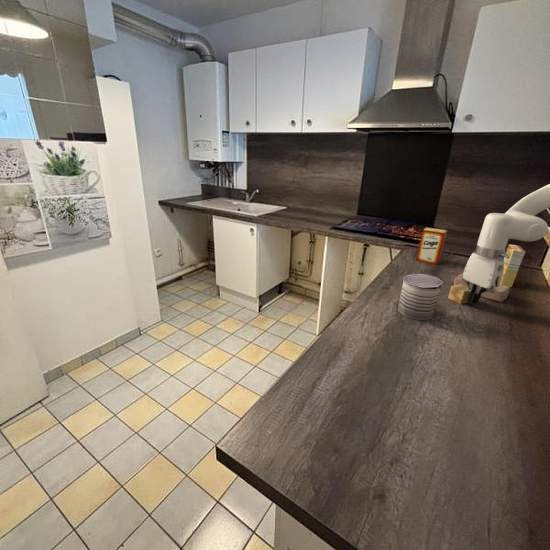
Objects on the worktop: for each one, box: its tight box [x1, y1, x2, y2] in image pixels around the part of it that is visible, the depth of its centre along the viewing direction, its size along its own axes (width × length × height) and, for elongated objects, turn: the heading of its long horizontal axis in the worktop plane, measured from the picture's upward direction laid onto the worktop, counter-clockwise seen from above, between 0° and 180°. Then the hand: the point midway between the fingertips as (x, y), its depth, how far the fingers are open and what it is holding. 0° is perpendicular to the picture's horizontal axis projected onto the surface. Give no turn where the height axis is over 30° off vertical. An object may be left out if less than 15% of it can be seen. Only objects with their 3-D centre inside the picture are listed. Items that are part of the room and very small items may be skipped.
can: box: [397, 273, 445, 321], centre depth 95 cm, size 11×11×12 cm
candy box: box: [500, 244, 526, 288], centre depth 119 cm, size 9×4×15 cm, turn 153°
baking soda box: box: [415, 227, 448, 266], centre depth 142 cm, size 10×6×16 cm
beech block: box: [447, 284, 470, 305], centre depth 105 cm, size 5×5×5 cm
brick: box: [453, 273, 511, 303], centre depth 112 cm, size 17×8×5 cm, turn 39°
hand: (472, 302), depth 101 cm, fingers closed
